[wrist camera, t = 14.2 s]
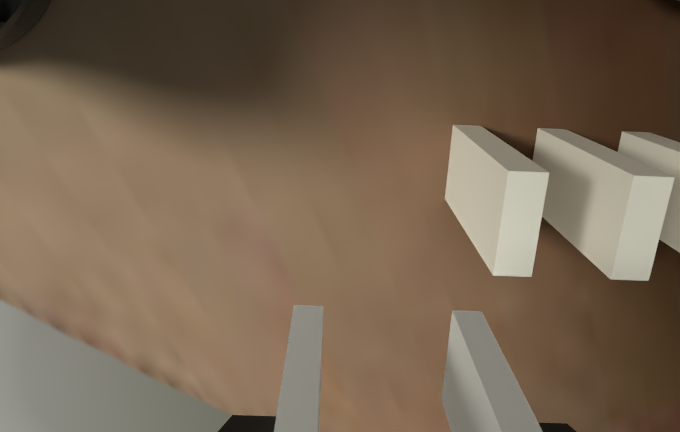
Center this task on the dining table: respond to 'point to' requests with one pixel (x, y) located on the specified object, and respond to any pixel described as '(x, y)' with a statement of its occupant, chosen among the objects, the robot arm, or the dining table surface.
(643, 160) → the domino
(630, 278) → the domino
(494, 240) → the domino
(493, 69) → the dining table surface
